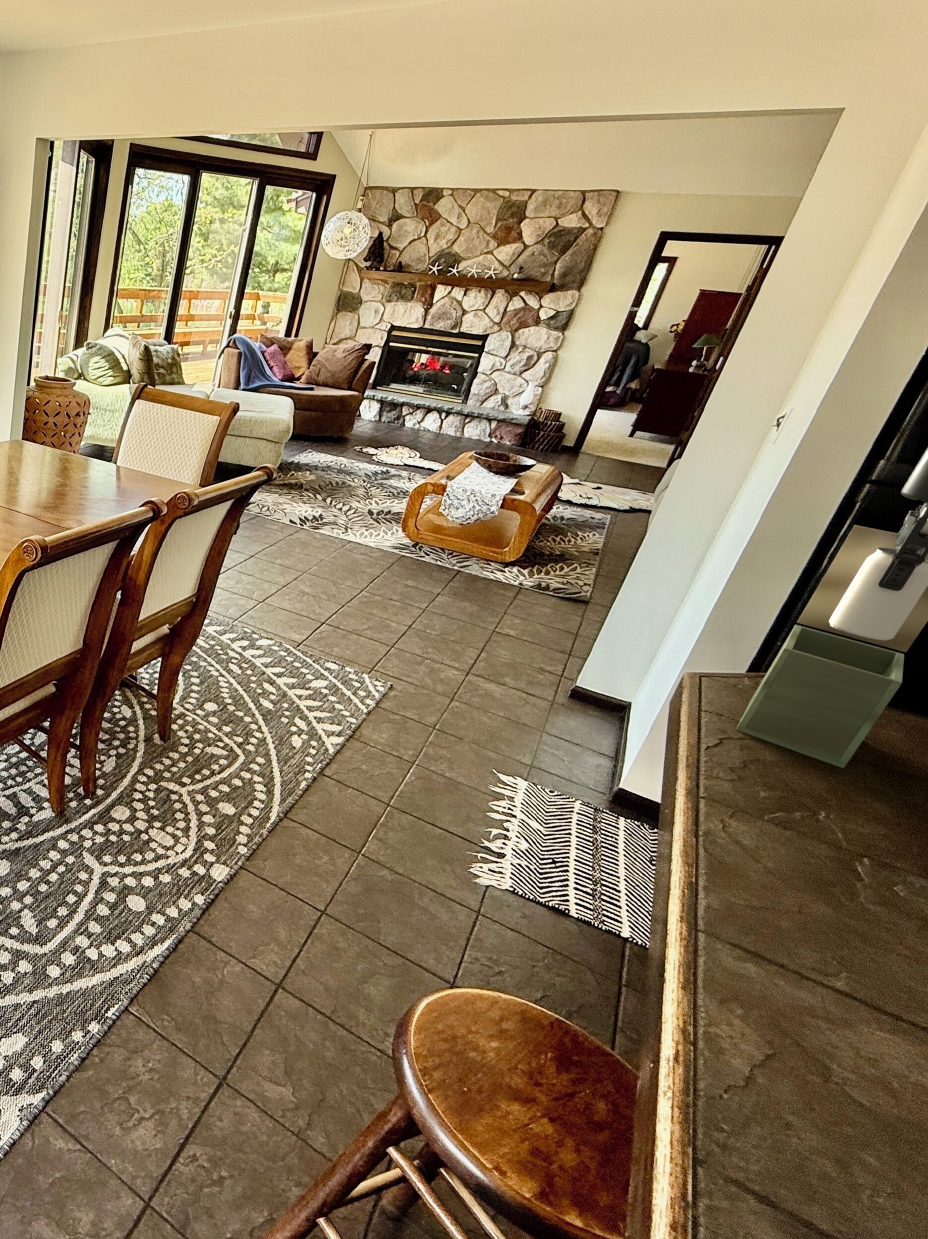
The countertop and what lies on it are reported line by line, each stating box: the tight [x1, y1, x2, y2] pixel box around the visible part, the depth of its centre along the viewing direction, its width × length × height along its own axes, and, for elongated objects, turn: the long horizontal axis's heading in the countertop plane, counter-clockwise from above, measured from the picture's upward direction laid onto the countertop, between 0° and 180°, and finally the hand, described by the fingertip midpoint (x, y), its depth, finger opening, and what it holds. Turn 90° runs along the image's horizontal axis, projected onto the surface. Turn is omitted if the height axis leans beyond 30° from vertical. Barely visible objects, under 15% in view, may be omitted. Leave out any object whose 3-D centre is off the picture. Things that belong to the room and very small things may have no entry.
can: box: [829, 548, 928, 641], centre depth 105 cm, size 6×6×12 cm
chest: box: [735, 624, 905, 769], centre depth 112 cm, size 16×12×14 cm
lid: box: [796, 524, 928, 653], centre depth 110 cm, size 16×12×1 cm
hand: (889, 583), depth 104 cm, fingers closed on can, 6 cm apart
